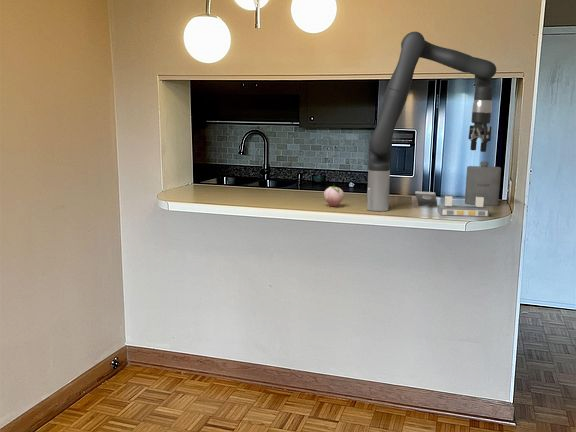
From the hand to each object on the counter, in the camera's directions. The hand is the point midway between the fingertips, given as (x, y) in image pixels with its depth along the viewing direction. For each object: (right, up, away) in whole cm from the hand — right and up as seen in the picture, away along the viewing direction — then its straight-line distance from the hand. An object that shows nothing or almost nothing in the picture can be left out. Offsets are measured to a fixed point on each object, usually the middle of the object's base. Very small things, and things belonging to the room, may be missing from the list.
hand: (478, 151), depth 237 cm
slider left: (-12, -23, +1) cm, 26 cm away
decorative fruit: (-59, -23, +16) cm, 65 cm away
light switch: (-17, -23, +18) cm, 34 cm away
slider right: (0, -23, -1) cm, 23 cm away
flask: (+11, -22, +28) cm, 37 cm away
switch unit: (-6, -26, +1) cm, 27 cm away
